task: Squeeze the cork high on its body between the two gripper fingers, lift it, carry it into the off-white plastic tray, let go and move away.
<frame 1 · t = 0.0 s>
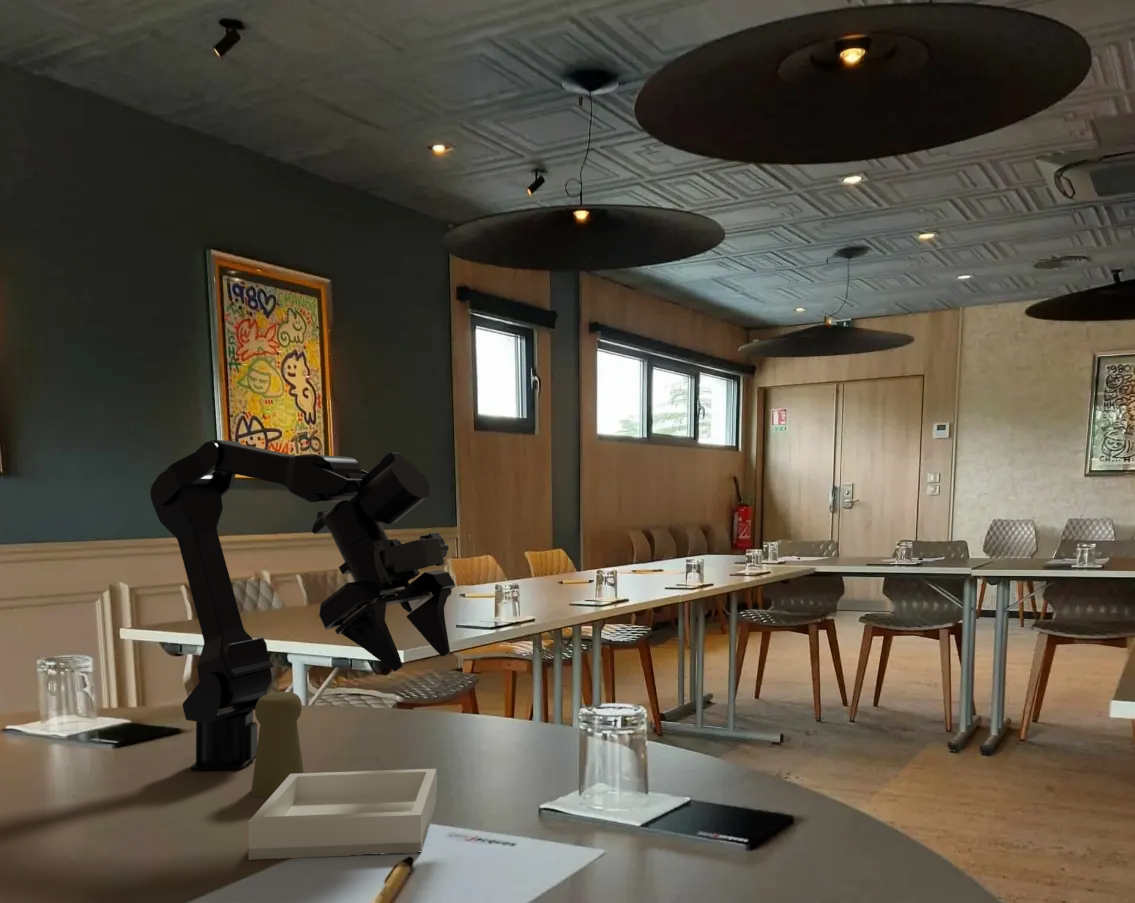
hand: (423, 661, 96), 15 cm above the table, tool tilted 35°, fingers open, 9 cm apart
tray: (350, 827, 86), on the table
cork: (278, 790, 98), on the table
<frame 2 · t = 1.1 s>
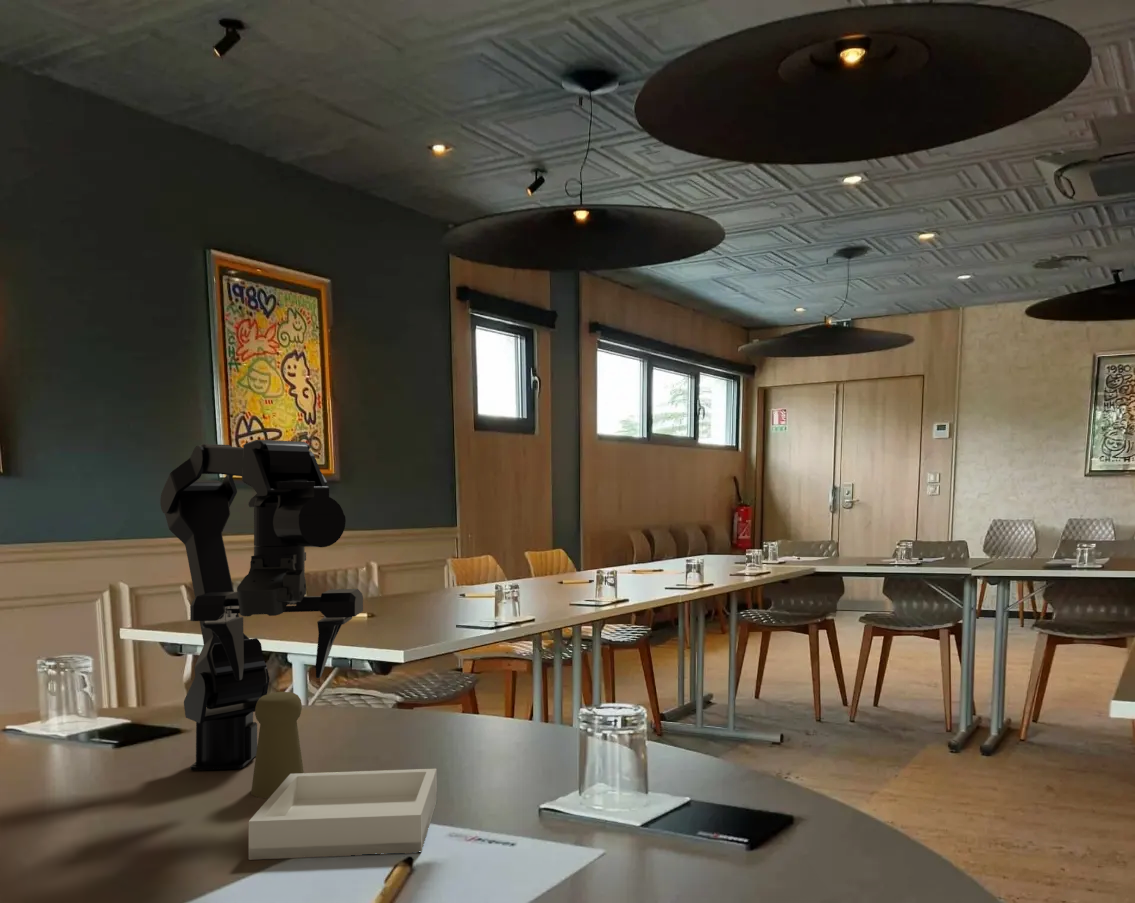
hand: (279, 678, 99), 13 cm above the table, tool pointing down, fingers open, 9 cm apart
nothing on the table moved.
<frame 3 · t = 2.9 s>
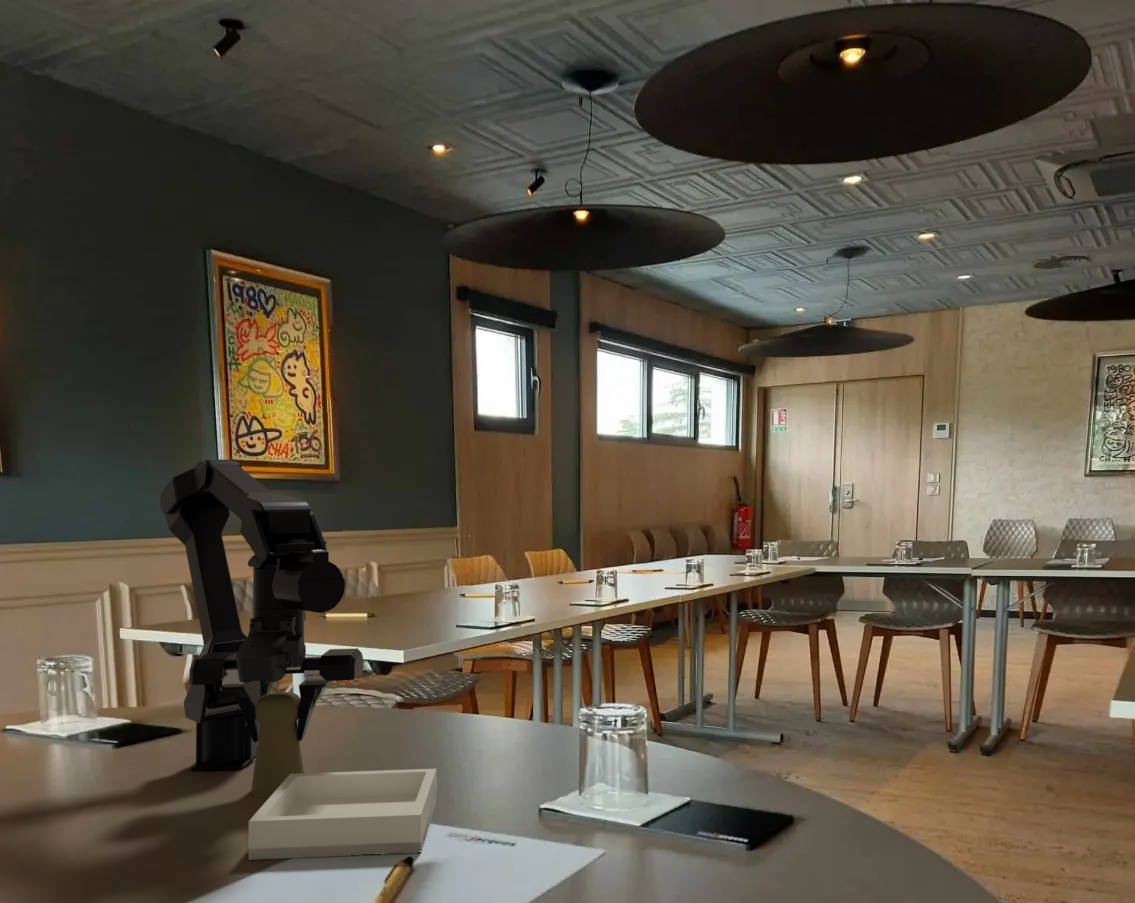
hand: (278, 740, 99), 6 cm above the table, tool pointing down, fingers closed on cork, 5 cm apart
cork: (278, 790, 98), on the table, touching gripper
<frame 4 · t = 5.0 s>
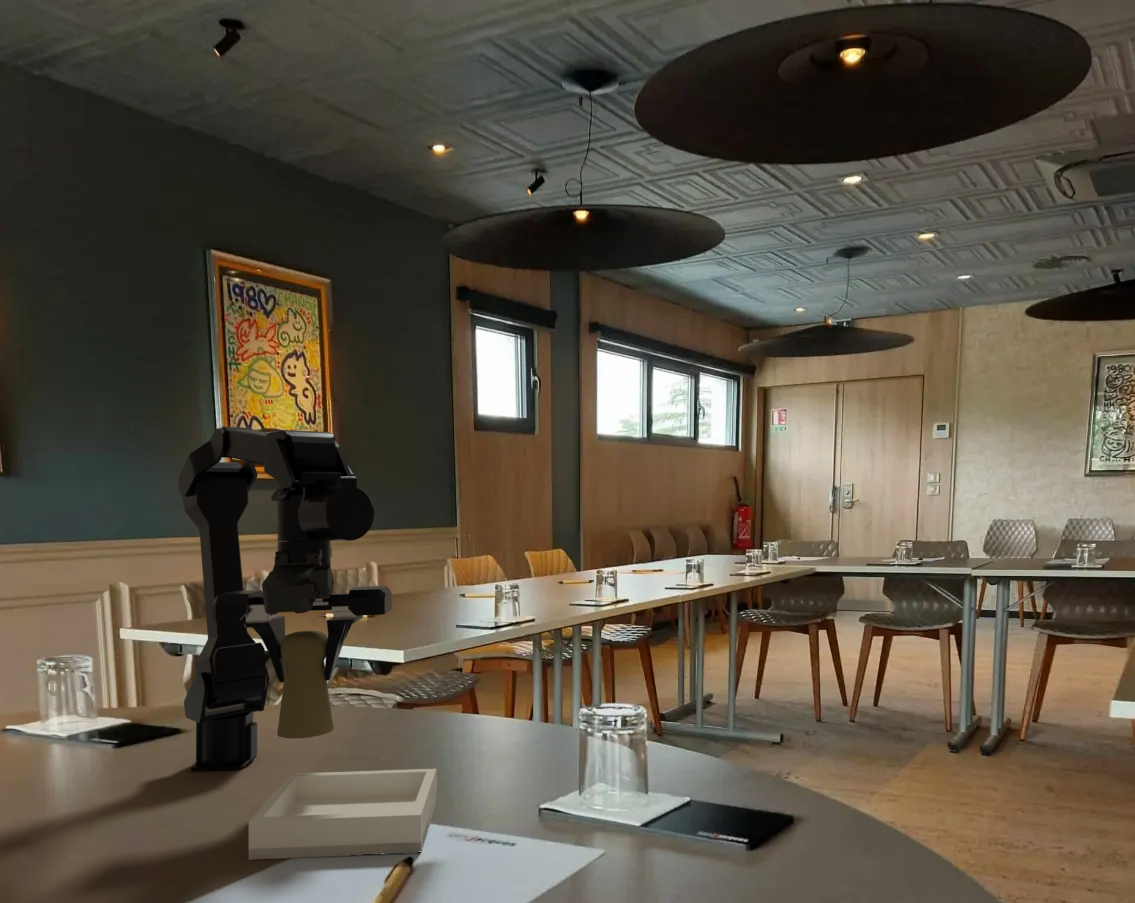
hand: (305, 680, 94), 13 cm above the table, tool pointing down, fingers closed on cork, 5 cm apart
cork: (305, 733, 94), point 8 cm above the table, touching gripper
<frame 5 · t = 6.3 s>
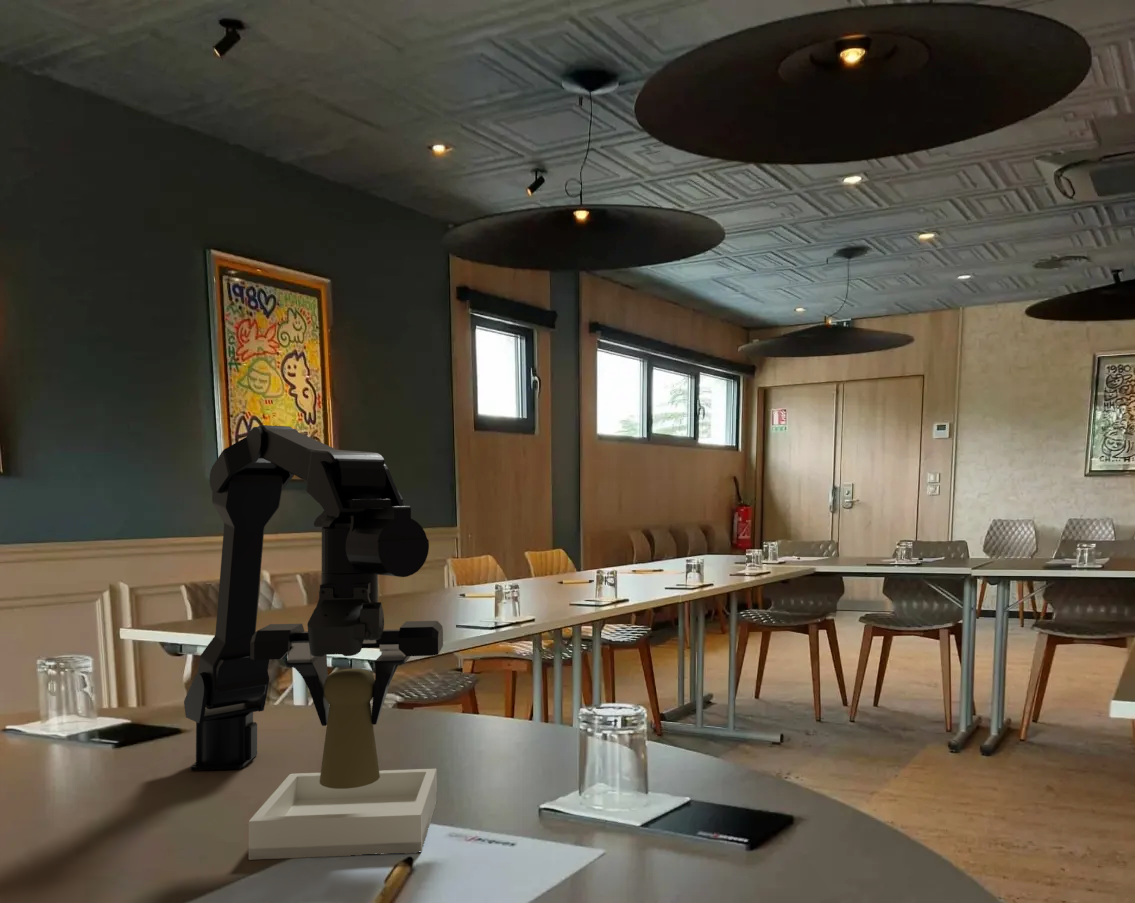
hand: (349, 724, 87), 10 cm above the table, tool pointing down, fingers closed on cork, 5 cm apart
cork: (349, 780, 86), point 5 cm above the table, touching gripper
when the fingers open (8 cm above the table, at t = 7.4 s): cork drops 1 cm, resting on tray.
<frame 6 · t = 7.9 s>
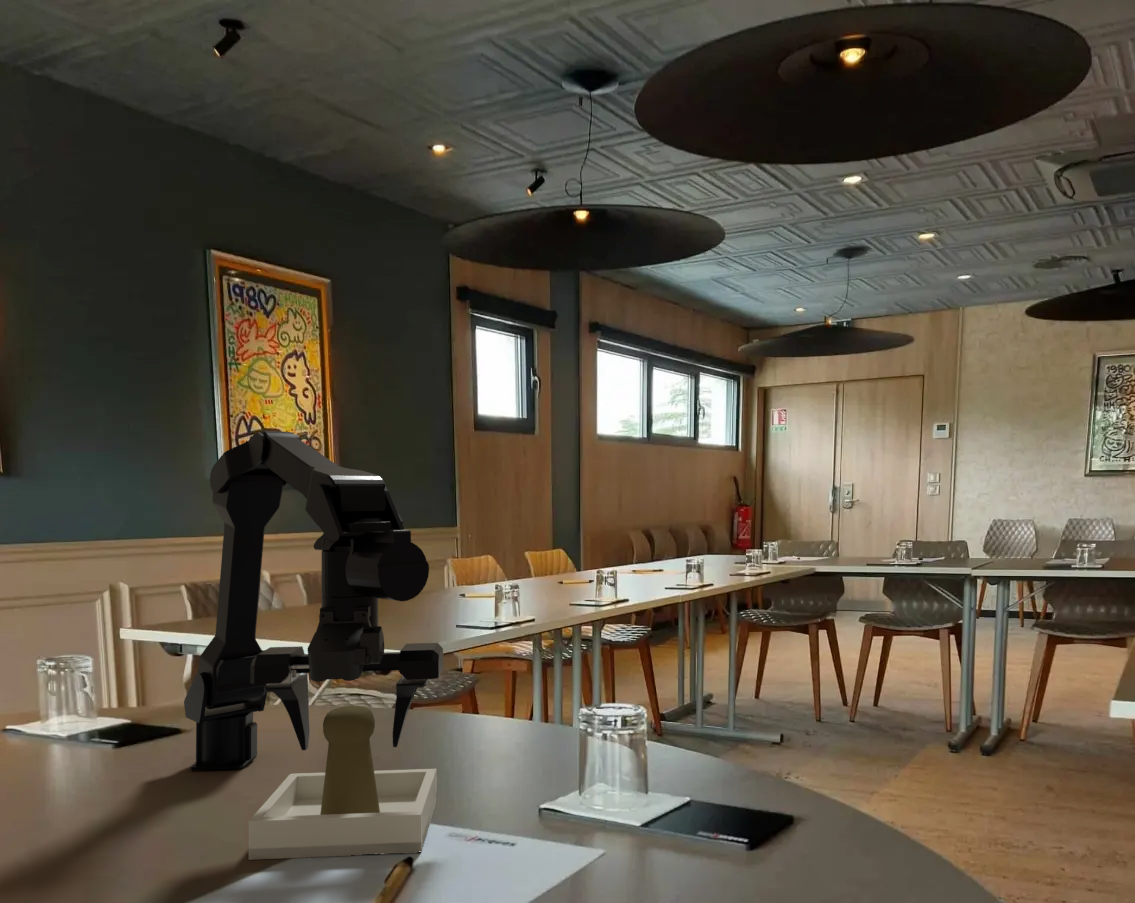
hand: (350, 747, 87), 8 cm above the table, tool pointing down, fingers open, 9 cm apart
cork: (350, 819, 86), point 1 cm above the table, touching tray
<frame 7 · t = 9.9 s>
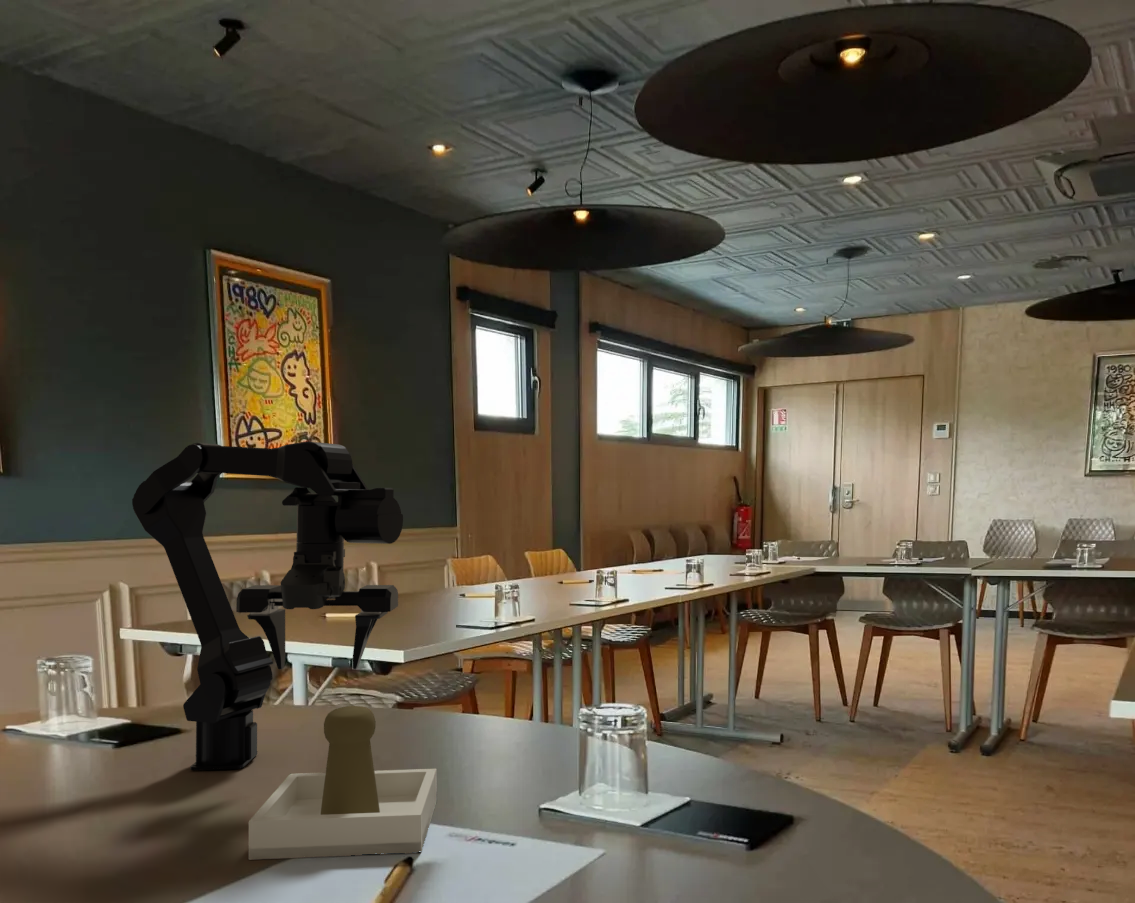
hand: (318, 668, 105), 13 cm above the table, tool pointing down, fingers open, 9 cm apart
nothing on the table moved.
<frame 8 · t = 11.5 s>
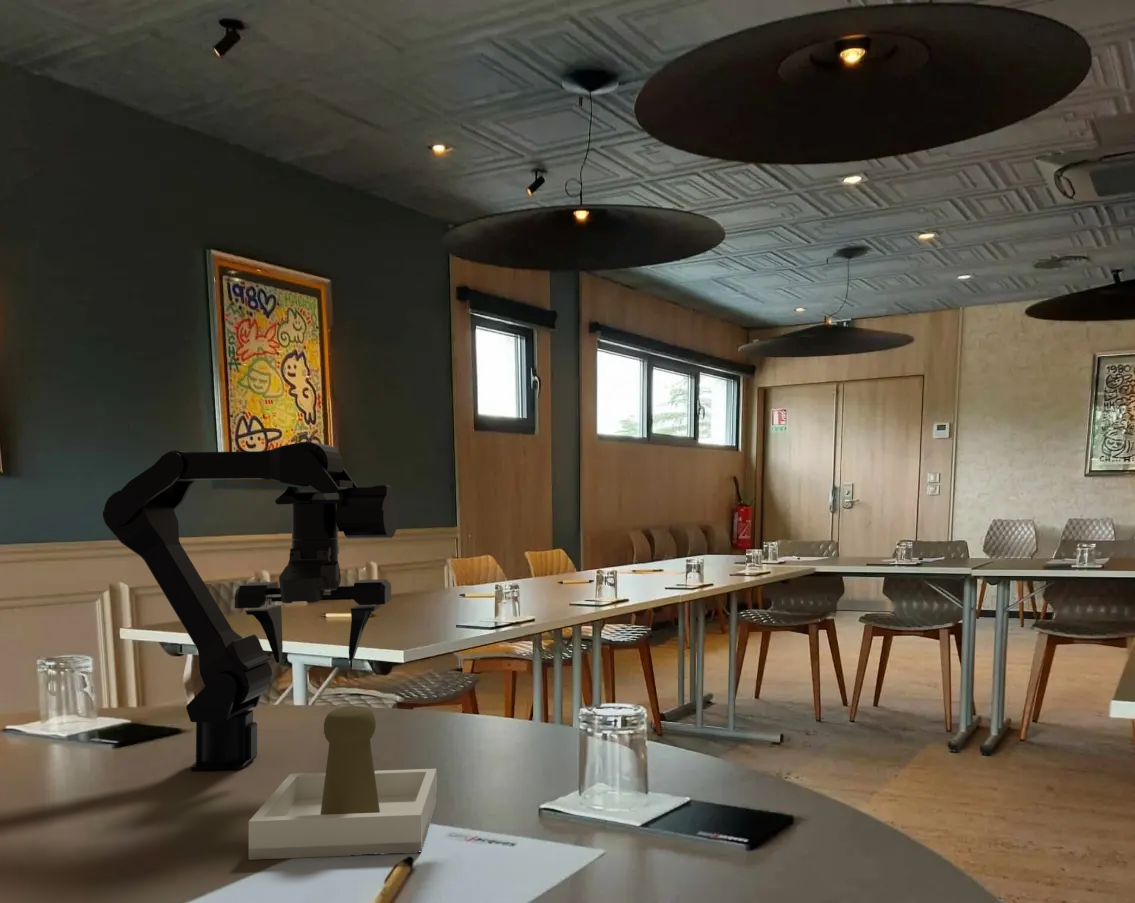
hand: (315, 661, 108), 13 cm above the table, tool pointing down, fingers open, 9 cm apart
nothing on the table moved.
at the end: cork inside the target area on the tray (0.1 cm from its centre), point 0.8 cm above the tray's base; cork tilted 0°; the gripper is holding nothing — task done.
